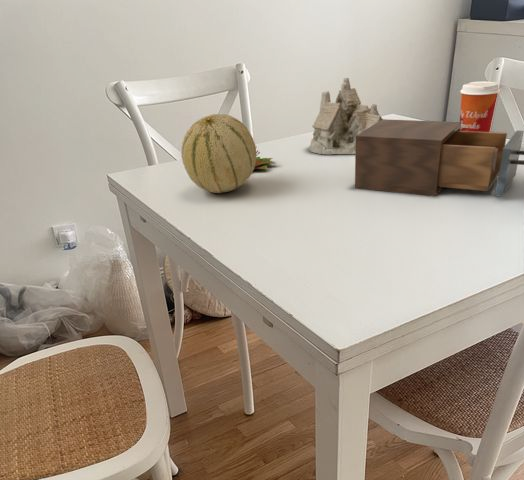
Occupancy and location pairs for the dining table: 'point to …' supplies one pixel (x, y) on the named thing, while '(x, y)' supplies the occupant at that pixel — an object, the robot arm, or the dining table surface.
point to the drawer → (479, 160)
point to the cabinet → (402, 155)
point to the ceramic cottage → (341, 122)
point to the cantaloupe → (218, 153)
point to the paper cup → (478, 105)
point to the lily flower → (262, 162)
